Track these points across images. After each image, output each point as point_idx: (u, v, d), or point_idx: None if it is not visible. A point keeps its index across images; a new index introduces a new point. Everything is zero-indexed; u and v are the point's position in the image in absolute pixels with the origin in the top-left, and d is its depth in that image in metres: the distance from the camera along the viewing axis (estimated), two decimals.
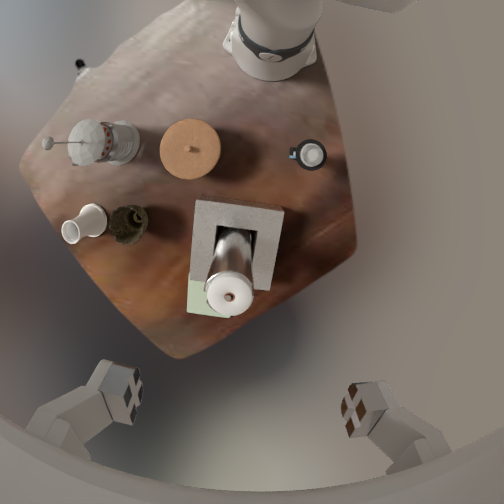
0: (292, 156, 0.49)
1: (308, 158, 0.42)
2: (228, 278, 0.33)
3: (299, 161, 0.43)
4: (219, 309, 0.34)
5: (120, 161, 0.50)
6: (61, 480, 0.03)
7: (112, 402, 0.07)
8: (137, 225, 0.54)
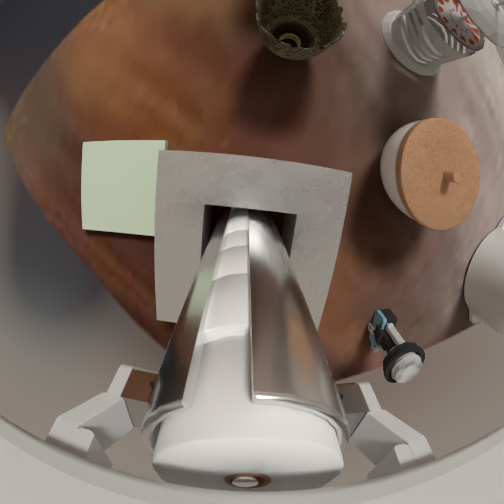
0: (385, 320, 0.31)
1: (406, 367, 0.24)
2: (332, 472, 0.06)
3: (401, 354, 0.25)
4: (175, 460, 0.05)
5: (390, 34, 0.21)
6: (61, 480, 0.03)
7: (135, 408, 0.07)
8: (276, 38, 0.21)
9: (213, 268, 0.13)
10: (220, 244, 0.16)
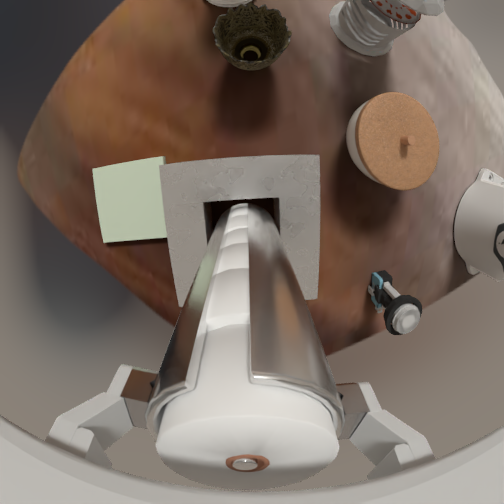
0: (381, 280, 0.35)
1: (404, 317, 0.28)
2: (329, 455, 0.06)
3: (397, 306, 0.29)
4: (178, 441, 0.06)
5: (338, 26, 0.25)
6: (61, 480, 0.03)
7: (135, 408, 0.07)
8: (238, 53, 0.25)
9: (214, 264, 0.14)
10: (220, 242, 0.17)
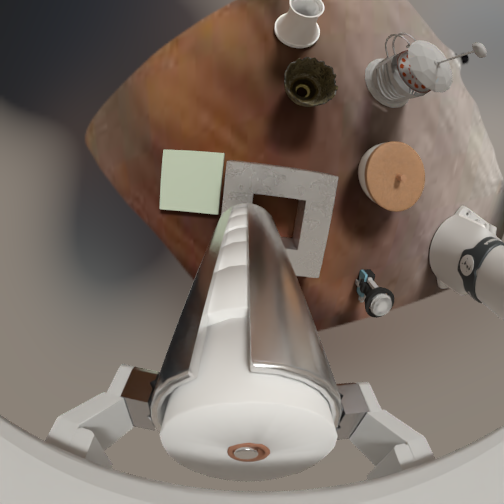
0: (366, 275, 0.47)
1: (380, 303, 0.40)
2: (327, 444, 0.07)
3: (376, 293, 0.41)
4: (182, 430, 0.06)
5: (370, 80, 0.36)
6: (61, 480, 0.03)
7: (135, 408, 0.07)
8: (294, 89, 0.37)
9: (215, 261, 0.14)
10: (221, 240, 0.18)
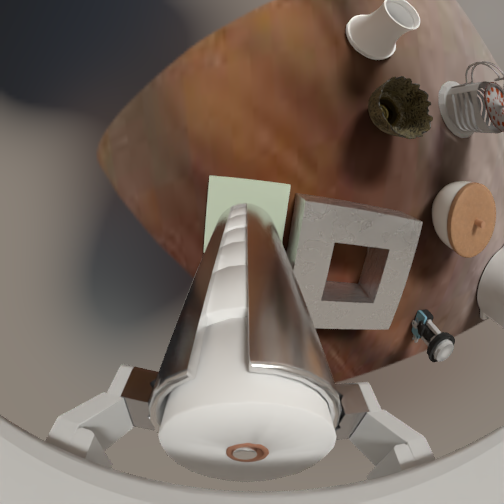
0: (426, 318, 0.39)
1: (444, 349, 0.33)
2: (326, 445, 0.07)
3: (441, 340, 0.33)
4: (180, 430, 0.06)
5: (444, 106, 0.29)
6: (61, 480, 0.03)
7: (135, 408, 0.07)
8: None
9: (214, 261, 0.14)
10: (220, 240, 0.18)
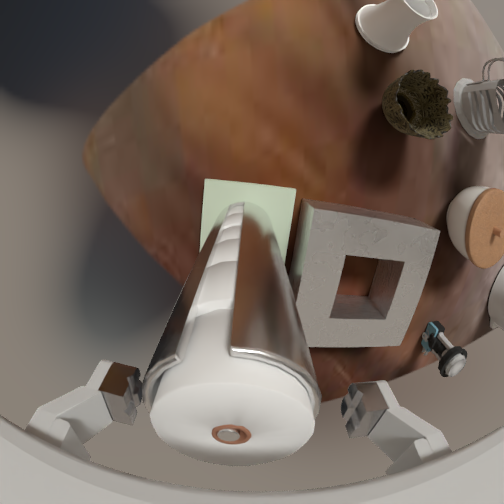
0: (437, 330, 0.36)
1: (456, 365, 0.29)
2: (306, 430, 0.08)
3: (453, 355, 0.29)
4: (169, 410, 0.07)
5: (460, 104, 0.25)
6: (61, 480, 0.03)
7: (112, 402, 0.07)
8: None
9: (208, 257, 0.15)
10: (216, 238, 0.18)
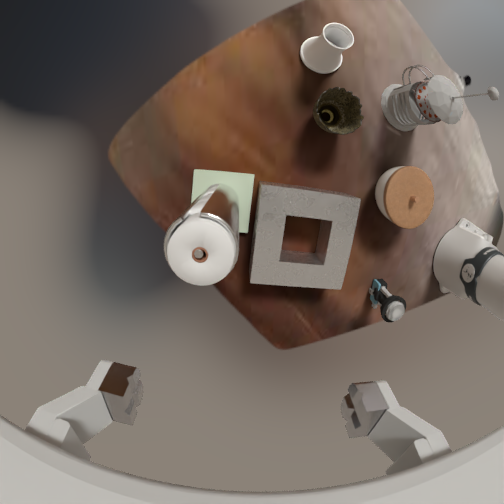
0: (380, 285, 0.51)
1: (394, 309, 0.44)
2: (230, 252, 0.22)
3: (391, 301, 0.45)
4: (176, 240, 0.22)
5: (386, 105, 0.41)
6: (61, 480, 0.03)
7: (112, 402, 0.07)
8: (320, 115, 0.40)
9: (194, 201, 0.29)
10: (199, 196, 0.33)
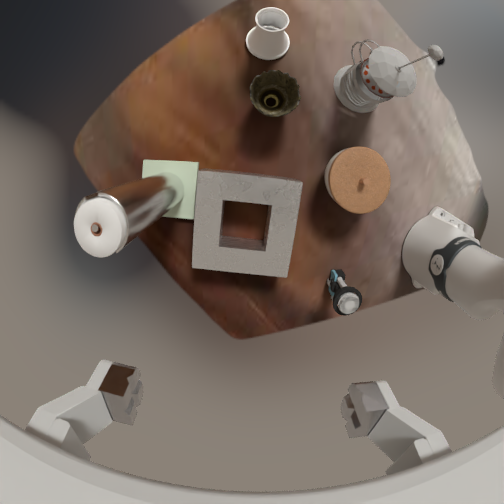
0: (336, 275, 0.50)
1: (347, 301, 0.44)
2: (118, 227, 0.23)
3: (343, 292, 0.44)
4: (79, 217, 0.22)
5: (339, 87, 0.40)
6: (61, 480, 0.03)
7: (112, 402, 0.07)
8: (263, 100, 0.40)
9: None
10: None
